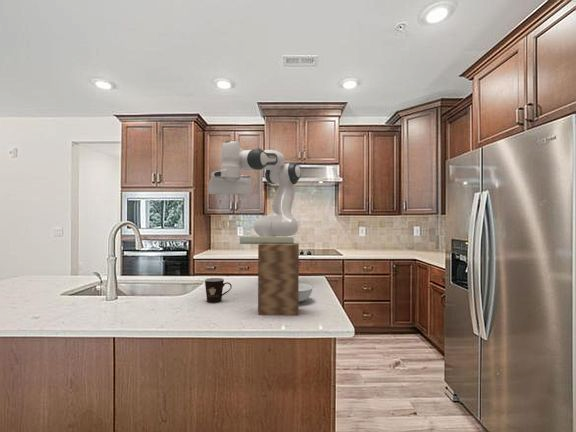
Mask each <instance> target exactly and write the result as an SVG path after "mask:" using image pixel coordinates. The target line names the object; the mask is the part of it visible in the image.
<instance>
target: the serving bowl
mask: <svg viewBox="0 0 576 432" xmlns="http://www.w3.org/2000/svg"><path fill="white" fill-rule="evenodd" d="M312 292H313V286H311V285H310V284H307V283H302V282H300V283H299V298H298V303H300V302H303V301H306V300H307V299H309V297H310V296H311V295H312Z"/></svg>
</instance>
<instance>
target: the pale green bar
mask: <svg viewBox="0 0 576 432" xmlns="http://www.w3.org/2000/svg"><path fill="white" fill-rule="evenodd" d="M294 243H295V237H294V236H276V237H260V236H248V235H247V236H245V235H243V236H240V237H239V245H259V244H294Z"/></svg>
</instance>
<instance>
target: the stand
mask: <svg viewBox="0 0 576 432" xmlns="http://www.w3.org/2000/svg"><path fill="white" fill-rule="evenodd" d="M299 244H300V243H299V242H294V244H257V245H258V247H257V248H258V249H257V251H258V253H257V254H258V255H257V257H258V260H257V261H258V262H257V265H258V266H257V268H258V269H257V270H258V271H257V275H258V276H257V315H261V316H299V302H298V298H299V281H300V280H299V275H300V273H299V270H300V269H299V268H300V267H299V265H300V264H299V263H300V260H299V259H300V257H299V256H300V255H299V254H300V252H299V251H300V250H299V249H300V245H299Z"/></svg>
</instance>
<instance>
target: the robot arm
mask: <svg viewBox="0 0 576 432" xmlns="http://www.w3.org/2000/svg"><path fill="white" fill-rule="evenodd" d="M220 160H221V167H220V170H217V171H212V172H211V174H210V176H211V178H210V179H209V181H208V188H207V193H208V194H209V195H215V198H216V200H217V204H218V205H222V199H220V198H219V197H220V195H232V196H236V195H238V196H240V198H241V199H240V200H238V202H237V203H238V205H239V206H240V205H242V202H243V200H244V198H245V196H251V195H252V194H253V190H252V189H253V188H252V184H253V177H251V176H250V175H245V174H243V175H242V174H241V171H253V170H254V171H257V170H258V171H261V170H265V172H264V178H265V181H266V182H267V183H268V184H272V185H275V184H278V188H277V190H276V192H275V195H274V198H273V201H272V204H271V209H272V211H273V213H275V214H276V215H275V216H271V215H270V216H268V215H267V216H260V217H258V218H256V219H255V221H254V224H253V229H254V232H255V233H256V234H257V236H258V237H293V236H295V235H296V234H297V233H298V230H299V222H298V220H297V219H296V218H295V217H293V215H292V207H293V203H294V201H295V200H294V199H295V195H296V194H295V193H296V188H295V185H296V184H298V181H299V180H300V178H301V176H302V169H301V167H300V166H301V165H299V164H298V163H296V162H290V163H285V155H284V154H283V153H282V152H280V151H278V150H275V149H265V150H263V149H262V148H253V149H246V150H244V149H243V148H242V147H241V144H240V141H238V140H227V141H224V142H223V144H222V146H221V158H220Z"/></svg>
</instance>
